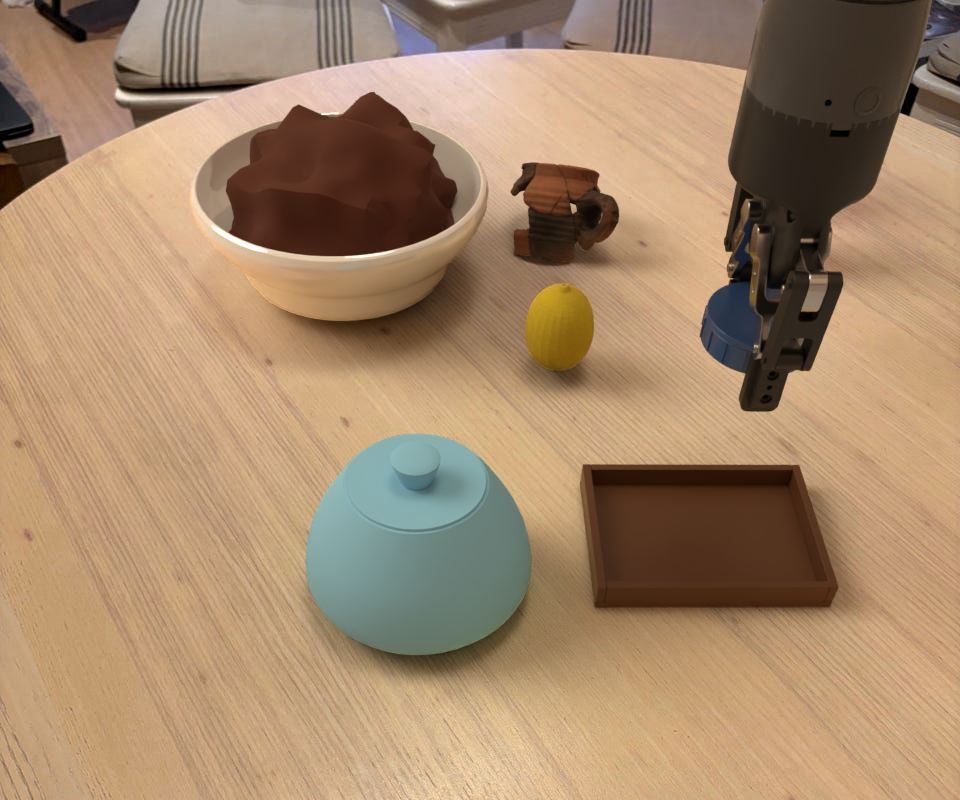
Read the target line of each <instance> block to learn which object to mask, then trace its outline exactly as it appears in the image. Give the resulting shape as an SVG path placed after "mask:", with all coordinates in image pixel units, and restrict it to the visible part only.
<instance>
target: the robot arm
mask: <svg viewBox="0 0 960 800" xmlns="http://www.w3.org/2000/svg"><path fill="white" fill-rule="evenodd" d="M932 2H933V0H763V3H762V6H761V9H760V13H759V16H758V19H757V22H756V23H757V24H756V27H755V30H754V31H755V32H754V36H753V40H752V41H753V42H752V45H751V50H750V55H749V58H748V64H747V67H746V68H747V69H746V74H745V77H744V82H743V88H742V91H741V96H740V100H739V105H738V110H737V115H736V119H735V124H734V128H733V132H732V136H731V141H730V146H729V151H728V156H727V166H728V171H729V172H730V175H731V177H732V178H733V180H734V181H735V182H736V183H735V188H734V193H733V198H732V203H731V207H730V211H729V217H728V221H727V228H726V231H725V232H726V233H725V236H724V238H723V246H724V251H725V252H726V253H731V255H730V257H729V260H728V262H727V264H726V272H727V276H728V279H729V281H728V284H727V285H729V284H732V283H737V282H749V281H751V286H750V295H749V304H748V307H749V310H750V312H751V313H753V314H754V315H755V316H756V323H755V332H754V341H753V345H752V351H751V355H750V358H749V362H748V366H747V369H746V373H744V377H743V381H742V384H741V388H740V392H739V395H738V403H739V406H740V409H741V410H742V411H743V412H748V413H749V412H750V413H757V412H760V413H763V412H764V413H766V412H767V413H768V412H770V413H771V412H773V411H775V410H776V409H778V407H779V405H780V402H781V398H782V395H783V392H784V390H785V386H786V383H787V380H788V377H789V374H790V373H789V370H795V371H799V372H810V371H811V370H812V368H813V365H814V363H815V361H816V357H817V355H818V353H819V350H820V348H821V345H822V343H823V340H824V337H825V335H826V332H827V330H828V327H829V324H830V322H831V319H832V316H833V314H834V311H835V310H836V306H837V304H838V301H839V300H840V299H839V298H840V296H841V293H842V291H843V287H844V274H843V273H842V271H836V270H835V271H833V270H832V271H831V270H829V271H827V270H825V266H824V264H825V262H826V260H827V259H828V258H829V257H830V254H831V248H832V247H831V246H832V240H833V227H832V219H833V217H834V216H835V215H837V214H838V213H839V212H841V211H842V210H844V209H846V208H848V207H849V206H851V205H855V204H857V203H858V202H860V201H862V200H864V199H865V198H866V197H867V196H868V195H869V194H870V193H871V192H872V191H873V189H874V188H875V186H876V184H877V182H878V179H879V177H880V173H881V169H882V167H883V164H884V161H885V157H886V155H887V153H888V150H889V146H890V143H891V140H892V137H893V135H894V131H895V129H896V126H897V122H898V120H899V117H900V114H901V110H902V108H903V105H904V102H905V99H906V96H907V93H908V90H909V87H910V84H911V80H912V78H913V75H914V72H915V69H916V68H917V67H916V66H917V64H918V61H919V57H920V55H921V52H922V48H923V45H924V41H925V37H926V32H927V28H928V23H929V17H930V13H931V8H932V5H933V4H932ZM766 288H769V289H781V294H782V296H781V299H780V300H773V299H768V298H767V296H766ZM774 316H775V317H774ZM773 317H774V320H773V323H772V326H771V329H770V322H771V319H772V318H773ZM769 330H770V332H769Z"/></svg>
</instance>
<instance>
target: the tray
mask: <svg viewBox="0 0 960 800" xmlns="http://www.w3.org/2000/svg"><path fill="white" fill-rule="evenodd" d="M579 482H580V483H579V487H580V495H581V503H582V505H581V506H582V512H583V519H584V521H583V522H584V527H585V528H584V529H585V535H586V536H585V537H586V545H587V552H588V560H589V570H590V578H591V585H592V587H591V588H592V593H593V604H594V607H595V608H703V607H704V608H709V607H710V608H720V607H721V608H728V607H729V608H730V607H733V608H734V607H735V608H739V607H741V608H742V607H743V608H744V607H746V608H747V607H749V608H750V607H751V608H752V607H754V608H755V607H768V608H769V607H771V608H772V607H773V608H774V607H776V608H777V607H782V608H784V607H787V608H789V607H792V608H793V607H800V608H801V607H802V608H803V607H813V608H814V607H831V606H832V604H833V602H834V599H835V597H836V595H837V592H838V590H839V587H840V586H839V583H838V581H837V578H836V574H835V571H834V568H833V565H832V562H831V560H830V559H831V558H830V556H829V553H828V550H827V546H826V543H825V541H824V537H823V535H822V531H821V528H820V524H819V522H818V519H817V515H816V513H815V509H814V506H813V503H812V500H811V497H810V493H809V491H808V488H807V485H806V482H805V478H804V475H803V472H802V469H801V466H800V465H799V464H650V463H649V464H647V463H646V464H639V463H638V464H636V463H635V464H634V463H633V464H629V463H628V464H623V463H621V464H619V463H617V464H614V463H610V464H605V463H604V464H601V463H600V464H598V463H596V464H595V463H594V464H593V463H592V464H588V463H587V464H586V463H583V464H582V465H581V474H580V480H579Z"/></svg>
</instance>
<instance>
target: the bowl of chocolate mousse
mask: <svg viewBox="0 0 960 800" xmlns="http://www.w3.org/2000/svg"><path fill="white" fill-rule="evenodd" d="M488 200H489V183H488V179H487V176H486V172H485V170H484V168H483V166H482V164H481V163H480V161H479V159H478V158H477V157H476V156H475V154H474V153H473V152H472V151H471V150H470V149H468V148H467V147H466V146H465V145H464V143H462V142H460V141H459V140H458V139H456V138H454V137H453V136H451V135H449V134H447V133H446V132H443V131H441V130H440V129H437V128H436V127H433V126H429V125H427V124H424V123H421V122H418V121H415V120H411V119H408V117H407V116H406V115H405V114H404V113H403V112H402V111H401V110H400V109H399V108H398V107H397V106H394V105H393V104H391V103H390V102H388V101H387V100H386V99H384V98H383V97H382V96H381V95H379V94H376V92H375V91H369V92H367V93H365V94H363V95H361V96H359V98H357V100H355V102H353V103H352V104H351V105H350V106H349V107H348V108H347V109H346V110H345V111H337V112H335V111H334V112H320V113H319V112H317V111H315V110H313V109H310V108H308V107H306V106H303V105H301V104H299V103H298V104H296V105H294V106H292V108H291V109H290V110H289V111H288V113H287V114H286V116H285V117H284V118H281V119H277V120H274V121H269V122H266V123H263V124H260V125H257V126H253V127H252V128H249V129H247V130H245V131H242V132H240V133H238V134H236V135H234V136H233V137H231V138H229V139H227V140H226V141H224V142H222V143H221V144H220V145H219V146H217V147H216V148H215V149H213V150H212V151H211V152H210V153H209V154H207V156H206V157H205V158H204V159H203V160H202V162H201V163H200V164H199V166H198V167H197V169H196V170H195V172H194V174H193V176H192V180H191V184H190V190H189V204H190V208H191V213H192V217H193V219H194V222H195V224H196V226H197V228H198V230H199V231H200V232H201V234H202V235H203V236H204V238H205V239H206V240H207V242H208V243H209V244H210V245H211V247H212V248H213V249H214V250H215V251H216V252H217V253H218V254H219V255H220V256H221V257H222V258H223V259H224V260H225V261H227V262H228V263H229V264H230V265H232V266H233V267H234V268H235V269H237V270H238V271H240V272H241V273H242V274H243V275H244V276H245V278H246V279H247V281H248V282H249V283H250V284H251V286H252V288H254V290H256V291H257V293H258V295H260V296H261V297H262V298H263V299H265V300H266V301H267V302H268V303H270V304H272V305H274V306H275V307H277V308H279V309H281V310H284V311H286V312H289V313H290V314H294V315H297V316H300V317H305V318H310V319H315V320H322V321H334V322H350V321H351V322H352V321H363V320H370V319H376V318H380V317H385V316H388V315H389V316H390V315H392V314H395V313H398V312H401V311H403V310H405V309H407V308H410V307H412V306H413V305H416V304H418V303H419V302H420V301H422V300H423V299H425V298H426V297H428V296H429V295H430V294H431V293H432V292H433V291H434V290H435V288H437V286H438V285H439V284H440V282H441V280H442V279H443V277H444V275H445V274H446V272H447V270H448V268H449V267H450V263H451V262H452V261H453V260H454V259H455V258H456V257H457V256H458V255H459V254H460V253H461V252H462V251H463V250H464V249H465V248H466V246H467V245H468V244H469V243H470V242H471V240H472V239H473V237H474V236H475V235H476V233H477V231H478V229H479V227H480V225H481V224H482V221H483V220H484V217H485V215H486V213H487V210H488V209H487V208H488V203H489V201H488Z"/></svg>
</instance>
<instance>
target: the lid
mask: <svg viewBox="0 0 960 800" xmlns="http://www.w3.org/2000/svg"><path fill="white" fill-rule="evenodd" d="M728 284H729V283H728ZM728 284H726V285H724V286H722V287H720V288H718V289H717V290H716V291H714V292H713V293H712V295H711V296H710V297H709V298H708V301H707V304H706V305H705V308H704V312H703V315H702V318H701V319H702V320H701V323H700V325H701V328H700V330H699V331H700V332H699V338H700V341H701V344H702V346H703V348H704V350H705V351H706V352H707V353H708V354H709V356H711V358H712V359H714V360H715V361H716V362H717V363H719V364H721V365H722V366H724V367H726V368H728V369H731V370H733V371H736V372H738V373H742V374H745V373H746V369H747V366H748V362H749V358H750V355H751V351H752V345H753V341H754V332H755V323H756V316H755V315H754V314H753V313H751V312H750V310H749V307H748V304H749V295H750V286H751V281H749V282H737V283H732V284H729V285H728ZM766 296H767V298H768V299H773V300H780V299H781V296H782V294H781V289H769V288H766ZM774 317H775V316H774ZM774 317H773V318H772V319H771V322H770V329H771V326H772V323H773V320H774ZM769 332H770V330H769ZM795 371H796V370H789V374H791V373H794V372H795Z"/></svg>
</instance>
